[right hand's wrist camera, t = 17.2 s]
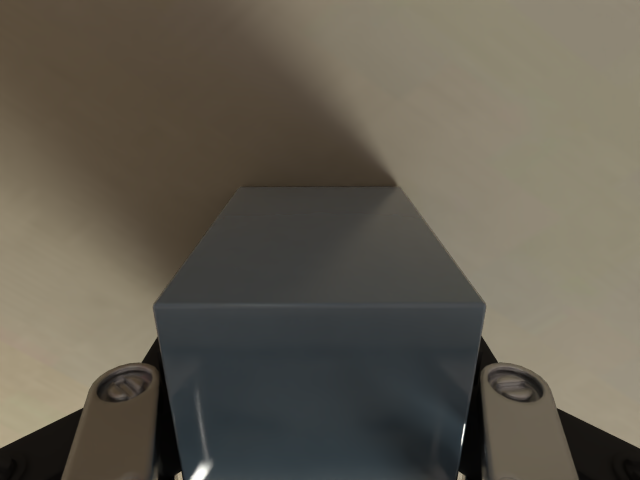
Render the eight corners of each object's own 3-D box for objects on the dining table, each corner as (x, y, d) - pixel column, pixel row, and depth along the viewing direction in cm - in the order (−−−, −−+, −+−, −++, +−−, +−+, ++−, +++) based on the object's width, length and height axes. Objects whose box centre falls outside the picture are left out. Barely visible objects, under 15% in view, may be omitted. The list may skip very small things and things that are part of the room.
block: (252, 369, 15) (200, 592, 9) (238, 186, 13) (149, 304, 6) (388, 369, 15) (439, 592, 9) (401, 186, 13) (488, 304, 6)
